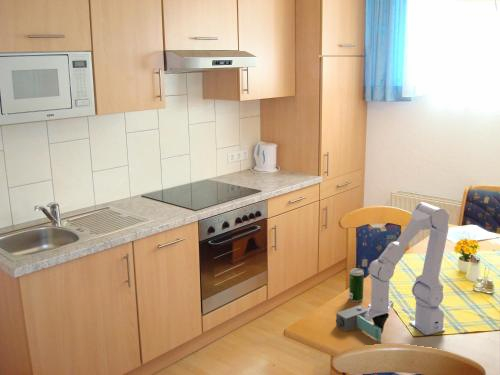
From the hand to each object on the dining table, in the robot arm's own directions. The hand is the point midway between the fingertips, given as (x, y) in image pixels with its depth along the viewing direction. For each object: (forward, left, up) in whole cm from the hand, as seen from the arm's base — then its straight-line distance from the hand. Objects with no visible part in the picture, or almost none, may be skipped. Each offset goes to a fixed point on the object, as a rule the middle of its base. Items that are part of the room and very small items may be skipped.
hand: (378, 332), depth 182 cm
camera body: (+11, +4, -2) cm, 12 cm away
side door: (+3, +2, -1) cm, 4 cm away
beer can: (+29, -9, -2) cm, 30 cm away
